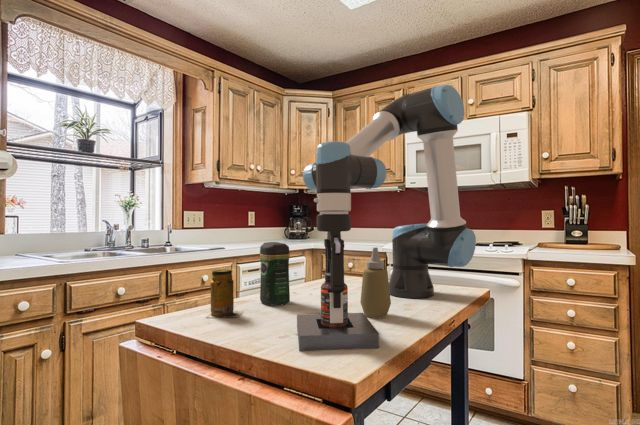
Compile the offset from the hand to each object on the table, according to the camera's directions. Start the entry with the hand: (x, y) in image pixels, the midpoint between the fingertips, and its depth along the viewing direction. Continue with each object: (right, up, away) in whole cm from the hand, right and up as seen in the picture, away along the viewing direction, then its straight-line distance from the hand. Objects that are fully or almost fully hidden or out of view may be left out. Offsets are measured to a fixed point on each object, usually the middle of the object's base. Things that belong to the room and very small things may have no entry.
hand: (334, 318), depth 85 cm
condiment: (-29, -5, +20) cm, 35 cm away
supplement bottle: (0, -2, 0) cm, 2 cm away
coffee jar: (-17, -4, +33) cm, 37 cm away
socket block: (0, -4, 0) cm, 4 cm away
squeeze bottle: (+12, -4, +17) cm, 21 cm away
